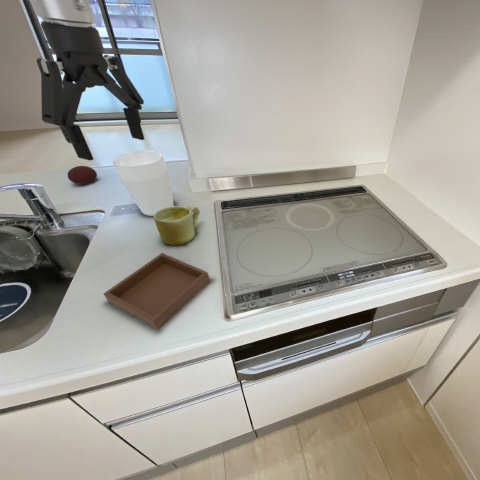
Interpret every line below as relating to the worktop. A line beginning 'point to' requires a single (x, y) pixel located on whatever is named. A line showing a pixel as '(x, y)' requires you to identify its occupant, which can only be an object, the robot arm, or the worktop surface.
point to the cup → (145, 179)
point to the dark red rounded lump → (82, 174)
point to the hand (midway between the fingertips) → (114, 147)
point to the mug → (176, 224)
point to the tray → (158, 289)
